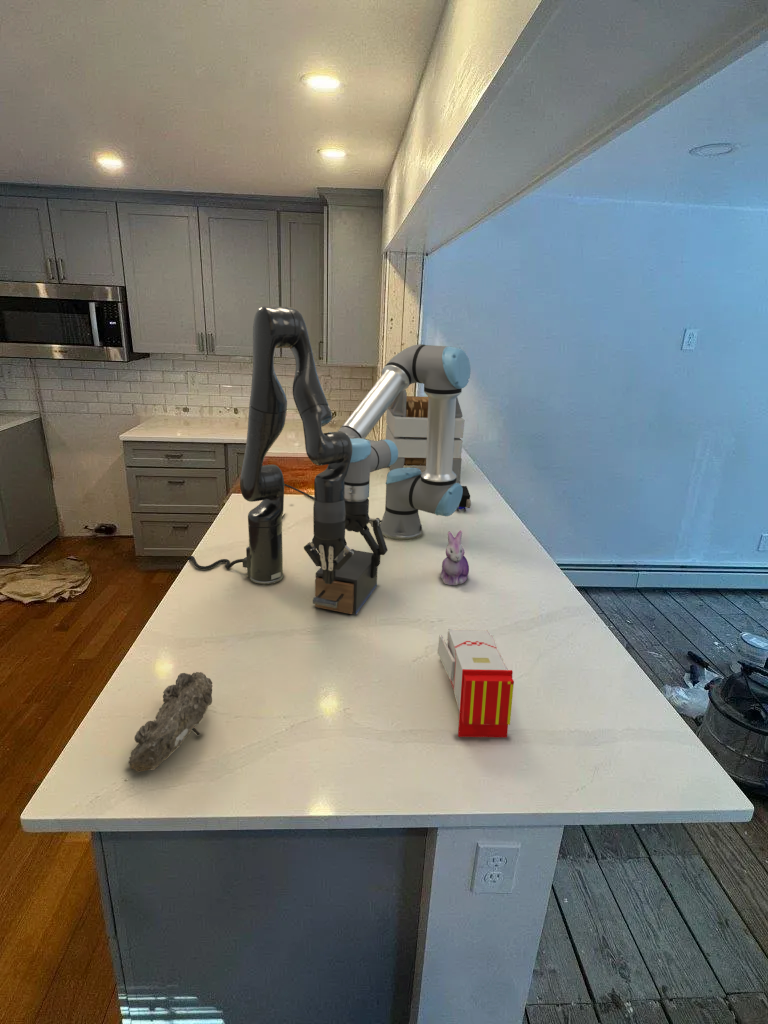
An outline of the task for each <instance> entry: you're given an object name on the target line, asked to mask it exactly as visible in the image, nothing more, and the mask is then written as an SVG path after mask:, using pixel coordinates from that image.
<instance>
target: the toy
mask: <svg viewBox="0 0 768 1024" xmlns="http://www.w3.org/2000/svg"><path fill="white" fill-rule="evenodd" d="M446 640H447V643H446V641H445V639H444V636H443V635H442V634H439V637H438V646H437V656H438V657H439V659H440V661H441V663H442V666H443V668H444V670H445V672H446V674H447V677H448V679H449V681H450V684H451V687H452V690H453V693H454V697H455V701H456V705H457V708H458V711H459V714H458V715H459V716H458V730H457V731H458V732H457V737H458V738H508V731H509V726H510V725H511V717H512V707H513V697H514V696H513V695H514V684H515V680H514V679H513V673H514V671H513V670H512V669H508V667H507V665H506V662H505V661H504V659H503V658H502V655H501V653H500V651H499V649H498V647H497V643H496V639H495V637H494V635H493V634H491V632H490V631H489V629H467V628H466V629H465V628H463V629H461V628H460V629H459V628H448V630H447V639H446Z"/></svg>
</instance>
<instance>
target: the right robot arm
mask: <svg viewBox="0 0 768 1024" xmlns="http://www.w3.org/2000/svg"><path fill="white" fill-rule="evenodd" d="M470 377H471V362H470V357H469V355H467V353H466V351H465V350H464V349H462V348H460V347H454V346H449V345H432V344H424V343H423V344H422V343H419V344H414V345H411V346H408V347H405V348H404V349H403V350H401V351H399V352H398V353H397V354H395V355H394V356H393V357H392V358H391V359H389V361H388V362H387V363H386V364H385V365H384V366H383V368H382V369H381V376H380V377H379V378H378V379H377V381H376V382H375V383H374V384H373V386H372V387H371V388H370V390H369V391H368V392H367V394H366V395H365V396H364V397H363V398H362V400H361V401H360V402H359V403H358V405H357V406H356V407H355V409H354V410H353V411H352V412H351V414H350V415H349V417H348V418H347V419H346V420H345V421H344V422H343V424H342V425H341V427H340V428H339V429H338V430H337V431H341V432H344V433H346V434H347V435H348V436H349V438H350V440H351V442H352V458H351V461H350V465H349V469H348V472H347V476H346V479H345V496H344V500H345V512H346V517H345V531H347V532H354V533H360V535H361V537H362V538H364V541H365V542H366V543H367V545H368V548H370V550H371V553H374V554H373V555H372V556H371V578H374V577H375V575H376V571H377V567H378V568H379V566H380V565H381V556H385V555H386V553H387V552H388V546H387V543H386V540H385V538H387V539H389V540H395V541H410V540H415V539H418V538H420V537H421V536H422V535H423V525H422V524H421V518H420V515H419V511H421V512H425V513H429V514H431V515H432V514H433V515H435V516H440V517H450V516H452V515H453V514H454V513H455V512H456V511H457V507H458V506H459V504H460V501H461V498H462V493H463V488H462V486H463V485H462V484H461V483H460V482H459V483H456V474H455V473H454V472H453V471H452V464H453V447H454V429H455V411H456V398H458V397H459V396H460V395H461V394H462V392H463V391H462V390H463V389H464V388H466V386H468V384H469V379H470ZM412 384H423V392H424V394H425V395H426V397H429V399H428V425H427V452H426V466H425V469H424V470H423V471H422V470H421V469H420V468H418V467H404V468H398V469H394V470H391V471H390V470H388V472H387V475H386V480H385V504H384V505H385V507H384V508H385V509H384V513H383V515H382V519H380V517H376V518H371V517H370V515H369V510H370V500H369V497H370V478H371V473H373V472H376V471H379V470H382V469H388V468H389V467H388V466H390V465H392V464H394V463H395V462H396V460H397V458H398V449H397V446H396V445H395V443H394V442H392V441H391V440H388V439H385V438H384V439H379V440H374V439H368V438H367V437H368V436H369V434H370V433H371V432H372V430H373V429H374V427H375V426H376V425H377V424H378V422H379V421H380V420H381V418H382V417H383V415H384V414H386V412H387V409H388V407H389V406H390V405H391V404H392V402H393V401H394V400H395V398H396V397H397V396H398V394H399V393H400V392H401V391H403V390H406V391H407V389H408V388H409V386H410V385H412ZM330 432H331V431H329V432H327V433H330ZM284 487H287V488H290V489H292V490H294V491H296V492H298V493H300V494H303V495H304V496H306V497H308V498H310V499H312V500H314V496H312V495H311V494H309V493H306V492H305V491H302V490H300V489H298V488H296V487H295V486H291V485H290V484H288V483H287V484H286V483H284ZM368 524H370V527H371V528H372V531H373V534H374V536H373V534H372V533H371V531H370V528H369V526H368ZM374 537H375V538H374ZM377 572H378V571H377Z"/></svg>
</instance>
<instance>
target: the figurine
mask: <svg viewBox="0 0 768 1024" xmlns="http://www.w3.org/2000/svg"><path fill="white" fill-rule="evenodd" d="M462 539H463V530H458V532H457V533H456V536H454V535H453V533H452V532H451V531H447V546H446V548H445V556H446V557H444V559H443V561H442V564H441V573H440V579H441V580H442V581H443V583H444V584H445V585H449V586H457V585H461V584H464V583H465V582H466V581H467V580H468V577H469V573H470V566H469V561H468V559H467V558H466V556H465V553H466V552H465V548H464V547H463V544H462Z"/></svg>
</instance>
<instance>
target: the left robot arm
mask: <svg viewBox="0 0 768 1024" xmlns="http://www.w3.org/2000/svg"><path fill="white" fill-rule="evenodd" d="M276 349H289V350H290V351H291V352H292V355H293V357H294V360H295V372H294V377H293V383H292V397H293V401H294V404H295V407H296V410H297V412H298V414H299V417H300V419H301V422H302V428H303V435H304V446H305V447H304V448H305V453H306V455H307V457H308V459H309V461H310V462H311V463H313V464H314V465H316V466H326V465H327V467H326V468H325V469H324V470H323V471H321V472H320V473H318V474H316V476H315V477H314V480H313V483H314V485H313V488H314V489H313V494H314V495H313V497H314V499H313V508H312V509H313V513H312V515H313V519H312V520H313V537H312V539H311V542H310V541H309V542H307V544H306V545H304V546H303V550H304V551H305V553H306V554H307V555H308V557H309V558H310V560H311V561H312V562H313V564H314V565H315V567H320V568H322V569H323V581H325V583H326V584H331V583H332V582H333V581H334V580H335V578H336V570H339V569H340V568H341V567H342V566H343V565H344V564H345V563H346V562H347V561H348V559H349V558H350V557H351V556H352V555H353V554H354V553H355V550H356V549H354V548H350V547H349V546H348V543H347V540H346V529H345V517H346V512H345V500H344V496H345V479H346V476H347V472H348V469H349V465H350V461H351V458H352V442H351V440H350V438H349V436H348V435H347V434H346V433H344V432H341V431H338V430H337V431H329V432H330V433H328V432H323V428H322V427H324V426H326V425H328V424H330V422H331V421H332V418H333V413H332V410H331V407H330V405H329V403H328V400H327V397H326V395H325V392H324V390H323V388H322V385H321V382H320V379H319V374H318V371H317V368H316V364H315V363H316V362H315V358H314V353H313V349H312V345H311V341H310V337H309V333H308V329H307V325H306V322H305V318H304V317H303V315H302V313H301V312H300V310H299V309H297V308H295V307H291V306H270V305H269V306H267V305H265V306H261V307H259V308H258V309H257V310H256V312H255V314H254V318H253V325H252V376H251V377H252V378H251V386H250V388H251V389H250V397H249V405H248V414H247V415H248V417H247V418H248V420H247V430H246V431H247V432H246V433H247V434H246V441H245V442H246V443H245V449H244V455H243V459H242V464H241V470H240V478H239V487H240V492H241V496H242V497H243V499H244V500H245V501H246V502H250V503H251V502H252V503H253V502H260V501H261V502H260V503H259V504H258V505H256V506H255V507H254V508H252V509H251V510H250V511H249V512H248V514H247V527H248V545H247V547H246V548H245V553H246V556H245V557H244V558H237V559H235V560H232V561H230V560H229V559H227V558H221V559H217V560H216V561H214V562H213V563H211V564H209V565H201V564H198V561H197V560H196V558H195V556H193V555H188V557H187V558H186V560H187V561H191V562H192V564H193V566H194V567H195V568H196V569H199V570H202V571H203V570H204V571H205V570H210V569H212V568H214V567H216V566H217V565H219V564H223V563H225V568H226V569H230V568H231V567H233V566H234V565H237V564H240V563H242V568H244V569H246V575H247V576H246V577H247V579H248V580H250V581H251V582H253V583H255V584H259V585H272V584H277V583H278V582H280V581H282V580H283V578H284V568H283V567H284V566H283V565H284V563H283V562H284V560H283V558H284V557H283V555H284V553H283V519H282V516H283V515H284V511H285V510H284V509H285V506H284V505H285V502H284V501H285V486H284V484H285V479H284V475H283V471H282V469H281V468H280V467H279V466H278V465H277V464H265V465H264V464H263V463H264V460H265V459H266V458H265V457H266V455H267V454H268V452H269V451H270V449H271V448H272V447H273V445H274V444H275V442H276V441H277V439H278V438H279V436H280V435H281V434H282V431H283V429H284V427H285V424H286V418H287V409H288V399H287V395H286V393H285V390H284V388H283V386H282V385H281V383H280V380H279V378H278V376H277V374H276V371H275V366H274V365H275V363H274V362H275V361H274V359H275V358H274V357H275V350H276ZM343 550H344V553H343V556H344V557H343V559H342V560H341V561H340V562H338V563H337V559H338V555H339V554H340V553H341V552H342V551H343Z"/></svg>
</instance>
